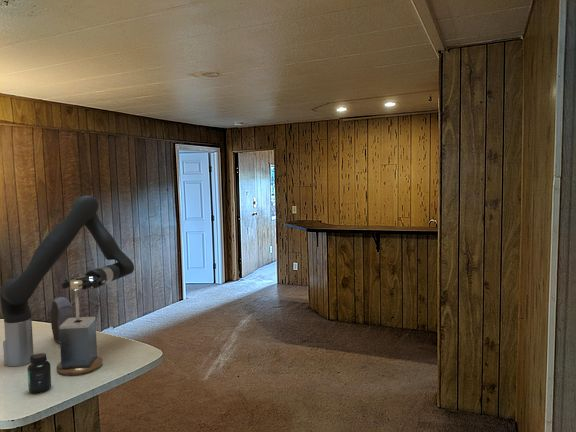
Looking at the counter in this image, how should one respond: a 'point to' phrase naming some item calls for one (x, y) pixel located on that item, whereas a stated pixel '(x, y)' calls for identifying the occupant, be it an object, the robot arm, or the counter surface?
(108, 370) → the counter surface
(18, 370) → the counter surface
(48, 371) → the supplement bottle
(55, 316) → the soft grey pack
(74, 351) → the square holed block
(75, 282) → the plunger
